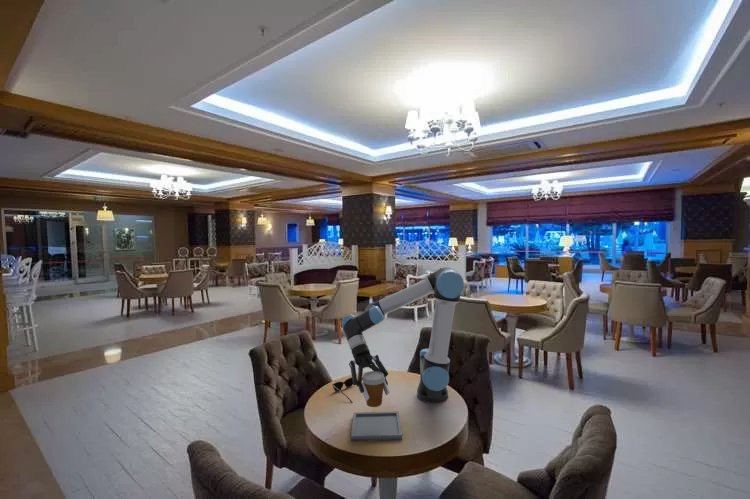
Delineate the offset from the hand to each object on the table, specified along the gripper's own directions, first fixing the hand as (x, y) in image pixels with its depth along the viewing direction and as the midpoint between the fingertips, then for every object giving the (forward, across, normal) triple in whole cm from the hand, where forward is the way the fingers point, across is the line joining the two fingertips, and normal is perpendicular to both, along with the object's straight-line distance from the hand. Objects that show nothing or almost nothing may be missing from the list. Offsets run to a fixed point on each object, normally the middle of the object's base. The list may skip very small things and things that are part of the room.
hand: (377, 396), depth 144 cm
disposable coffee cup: (+1, 0, -6) cm, 6 cm away
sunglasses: (-15, -6, -36) cm, 40 cm away
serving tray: (+8, -1, -12) cm, 15 cm away
